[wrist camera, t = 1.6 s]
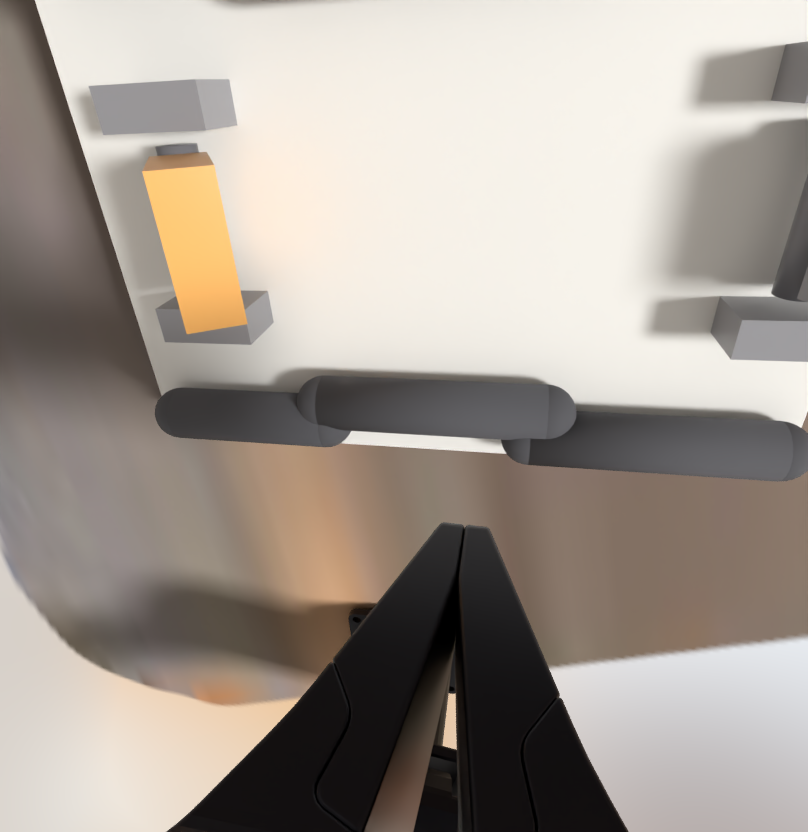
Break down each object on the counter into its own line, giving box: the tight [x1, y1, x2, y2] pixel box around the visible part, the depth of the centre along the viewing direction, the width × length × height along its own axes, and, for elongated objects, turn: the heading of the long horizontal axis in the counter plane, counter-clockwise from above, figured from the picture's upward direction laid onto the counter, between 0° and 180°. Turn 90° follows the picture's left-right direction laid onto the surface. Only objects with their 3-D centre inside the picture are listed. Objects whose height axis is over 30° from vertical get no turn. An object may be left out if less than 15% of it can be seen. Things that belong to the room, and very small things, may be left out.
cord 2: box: [155, 375, 808, 481], centre depth 20 cm, size 3×24×2 cm, turn 93°
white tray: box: [35, 0, 808, 454], centre depth 17 cm, size 18×24×5 cm
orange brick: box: [142, 143, 248, 334], centre depth 16 cm, size 4×2×5 cm, turn 3°
